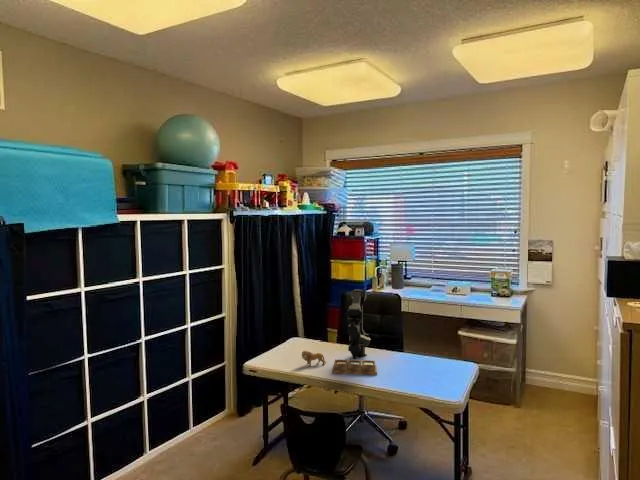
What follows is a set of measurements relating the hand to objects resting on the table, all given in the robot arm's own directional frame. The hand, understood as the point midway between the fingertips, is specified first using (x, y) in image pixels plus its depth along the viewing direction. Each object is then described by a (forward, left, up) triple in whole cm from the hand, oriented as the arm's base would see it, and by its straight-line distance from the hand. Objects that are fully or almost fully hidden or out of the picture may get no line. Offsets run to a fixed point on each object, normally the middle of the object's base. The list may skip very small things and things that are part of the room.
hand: (354, 359), depth 241 cm
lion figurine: (+12, -22, -7) cm, 26 cm away
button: (0, 0, -5) cm, 5 cm away
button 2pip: (-5, +5, -5) cm, 9 cm away
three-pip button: (+5, -5, -5) cm, 9 cm away
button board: (0, 0, -7) cm, 7 cm away
